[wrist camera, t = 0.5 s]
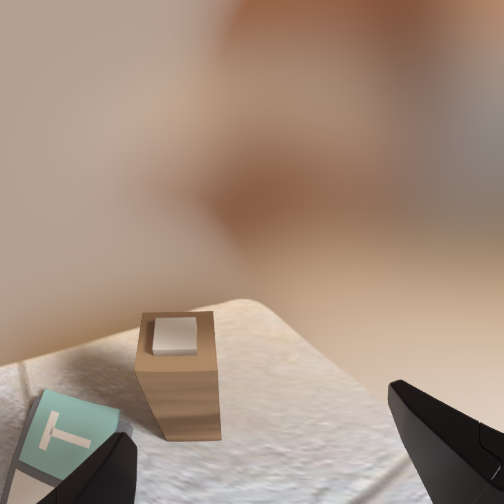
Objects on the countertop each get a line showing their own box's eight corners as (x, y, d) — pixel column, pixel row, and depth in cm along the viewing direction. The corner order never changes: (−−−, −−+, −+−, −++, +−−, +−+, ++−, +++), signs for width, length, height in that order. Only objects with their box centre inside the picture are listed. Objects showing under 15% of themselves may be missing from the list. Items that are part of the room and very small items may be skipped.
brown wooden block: (221, 440, 21) (217, 363, 15) (167, 441, 20) (131, 364, 14) (217, 395, 25) (212, 304, 18) (167, 397, 24) (140, 305, 18)
